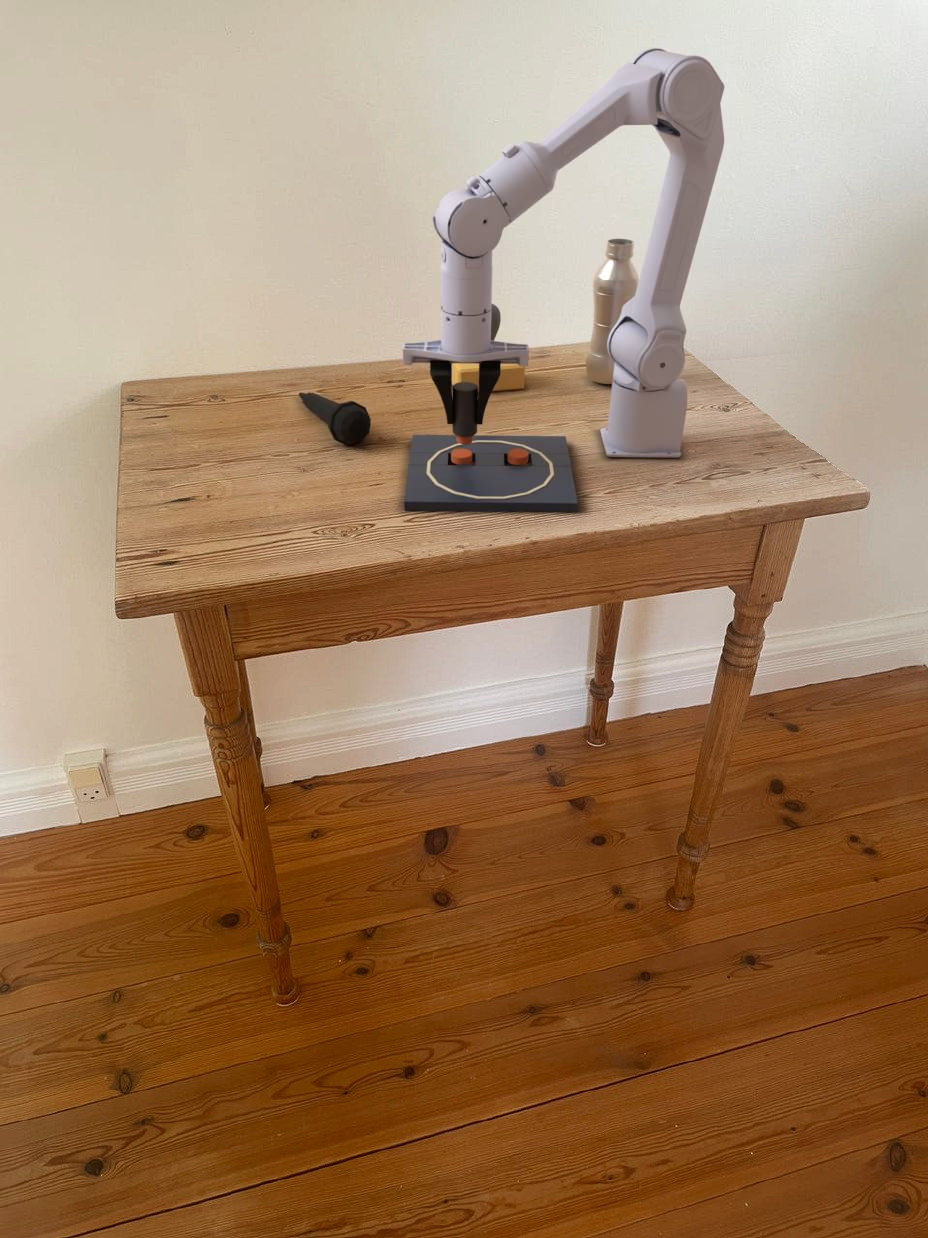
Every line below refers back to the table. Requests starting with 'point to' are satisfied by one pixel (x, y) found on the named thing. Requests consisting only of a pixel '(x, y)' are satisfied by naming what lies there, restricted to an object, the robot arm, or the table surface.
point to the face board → (490, 475)
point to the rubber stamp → (509, 372)
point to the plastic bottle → (610, 304)
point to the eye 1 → (461, 456)
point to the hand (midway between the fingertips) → (465, 420)
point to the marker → (465, 411)
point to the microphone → (340, 417)
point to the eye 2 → (518, 456)
